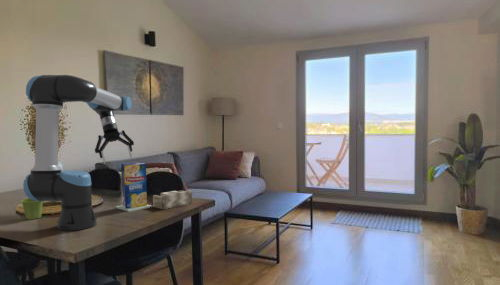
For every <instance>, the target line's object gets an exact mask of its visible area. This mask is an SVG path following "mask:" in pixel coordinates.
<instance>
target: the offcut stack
mask: <svg viewBox="0 0 500 285" xmlns="http://www.w3.org/2000/svg"><path fill="white" fill-rule="evenodd" d="M178 192H179V190H178V191H177V190H171V191H166V192H165V191H164V192H160V193H159V194H160V195H159V196H162V195H167V194H173V193H178Z"/></svg>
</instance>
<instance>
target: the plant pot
mask: <svg viewBox="0 0 500 285" xmlns="http://www.w3.org/2000/svg"><path fill="white" fill-rule="evenodd" d="M20 202H21V203H22V204H21V205H22V206H23V212H24V216H25V219H27V220H36V219H40V218H42V216H43V215H42V213H43V205H44V204H43V203H44V201H42V202H41V201H34V200H31V199H29V198H28V197H27V198H25V199H24V198H23V199H22V200H20Z"/></svg>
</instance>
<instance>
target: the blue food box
mask: <svg viewBox="0 0 500 285" xmlns="http://www.w3.org/2000/svg"><path fill="white" fill-rule="evenodd" d="M120 165H121V201H122V203H121V205H122V206H123V207H124V208H134V207H141V206H147V205H148V200H147V199H148V197H147V196H148V195H147V189H148V188H147V163H145V162H130V163H121V164H120Z"/></svg>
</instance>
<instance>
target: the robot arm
mask: <svg viewBox="0 0 500 285" xmlns="http://www.w3.org/2000/svg"><path fill="white" fill-rule="evenodd" d="M25 87H26V88H25V94H26V96H27V99H28V100H29V101H30V102H31V103H32V104H31V106H32V107H33V108H34V109H35V110H36V112H35V115H36V116H35V143H34V145H35V151H34V166H33V167H32V168H31V169H30V174H27V175H26V177H25V179H23V187H22V188H23V191H24V194H25V195H26V197H27V199H28V198H29V199H31V200H34V201H41V202H42V201H43V202H56V201H61V203H60V204H61V210H60V213H59V216H58V220H57V222H56V224H57V225H56V226H57V229H58V230H59V231H79V230H80V231H81V230H85V229H90V228H92V227H95V226H97V216H96V214H95V212H94V208H93V204H92V177H91V175H90V173H89V172H87V171H84V170H77V169H76V170H74V169H73V170H62V168H61V167H60V166H59V164H58V163H59V132H60V131H59V127H60V125H59V123H60V121H59V119H60V111H61V110H62V109H63V108H64V103H72V102H73V103H78V102H81V103H85V104H86V105H87V106H88V107H89V108H90V109H92V110H93V112H96V114H98V115H99V119H100V123H101V127H102V130H103V135H100V134H99V135H98V138H97V139H98V140H97V142H96V145H95V148H94V153H95V154H98V156H99V158H100V159H102V160H103V161H102V162H103V164H104V165H105V164H106V159H105V156H104V150H105V148H106V147H107V146H108V144H109V143H113V142H116V141H118V142H121V143H122V144H124V145H126V147H127V151H128V153H129V157H130V158H132V152H133V148H132V147H133V146H134V144H135V142H134V141H133V140H132V138H131V137H130V136H129V135H128V134H126V132H125V130H122V131H119V128H118V125H117V121H116V117H115V113H114V111H115V112H116V111H117V112H119V111H120V112H122V111H123V112H125V111H130V110H131V108H132V104H133V103H132V99H131V98H130V97H129V96H120V95H117V94H115V93H112V92H110V91H108V90H105V89H104V88H100V87H98V86H96V85H95V84H94V83H93V82H92V81H89V80H86V79H84V78H82V77H78V76H76V75H75V76H74V75H70V74H43V75H42V74H41V75H35V76H33V77H31V78H30V79H29V80H28V82H27V83H26V86H25ZM120 135H121V136H122V137H124V138H122V137H121V136H120ZM102 140H104V142H103V143H102ZM101 144H102V145H101Z"/></svg>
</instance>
